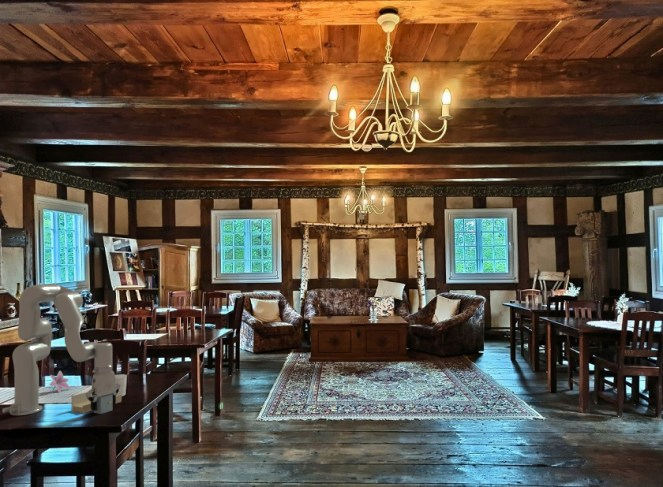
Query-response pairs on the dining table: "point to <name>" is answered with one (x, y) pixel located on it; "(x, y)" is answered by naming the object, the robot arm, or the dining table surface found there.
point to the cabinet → (104, 404)
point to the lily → (59, 382)
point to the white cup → (121, 383)
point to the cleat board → (84, 402)
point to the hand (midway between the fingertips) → (103, 407)
